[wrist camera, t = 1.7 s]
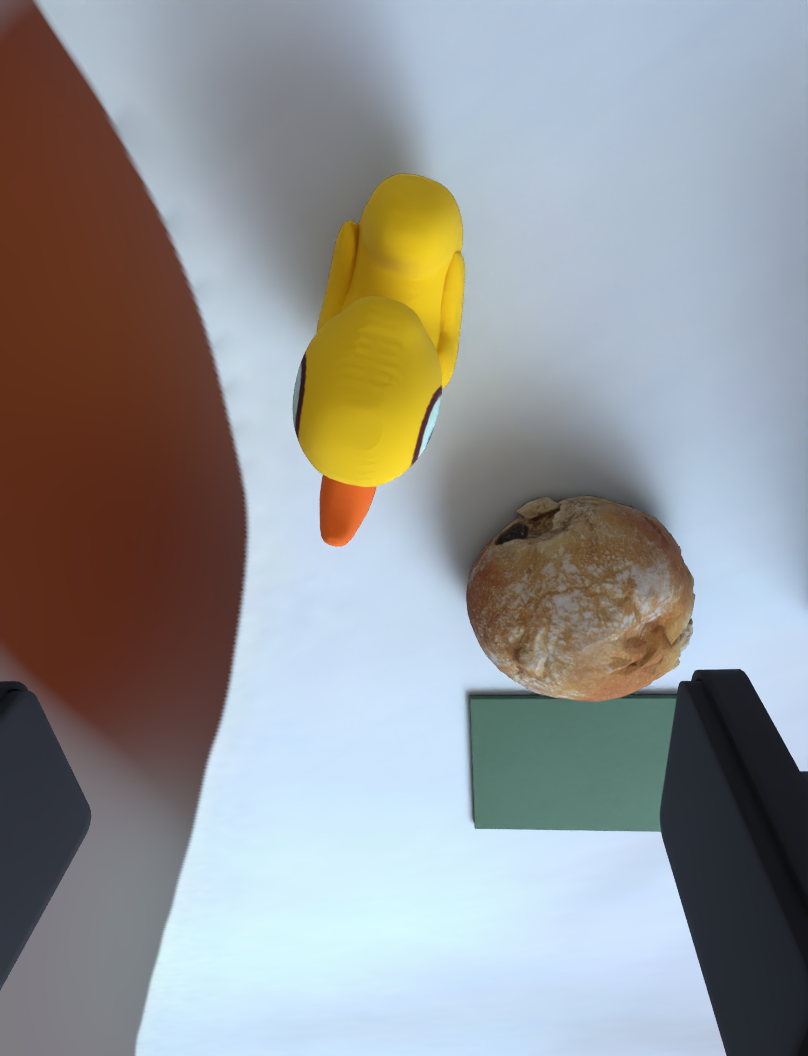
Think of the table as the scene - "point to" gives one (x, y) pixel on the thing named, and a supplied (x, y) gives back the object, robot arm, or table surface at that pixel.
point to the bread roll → (582, 599)
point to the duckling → (381, 346)
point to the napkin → (569, 762)
